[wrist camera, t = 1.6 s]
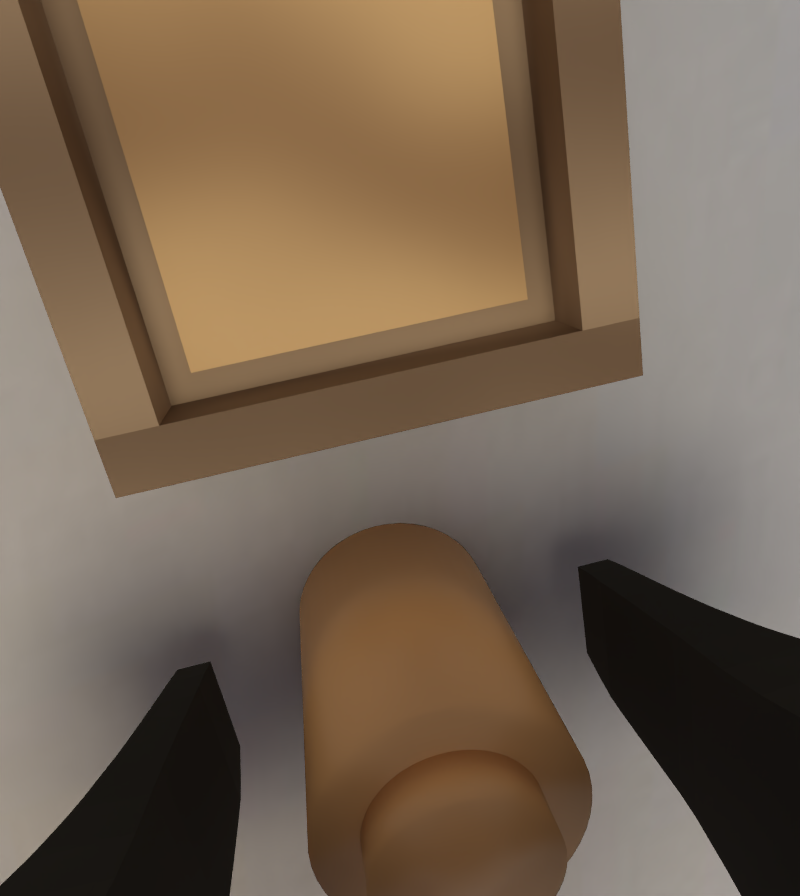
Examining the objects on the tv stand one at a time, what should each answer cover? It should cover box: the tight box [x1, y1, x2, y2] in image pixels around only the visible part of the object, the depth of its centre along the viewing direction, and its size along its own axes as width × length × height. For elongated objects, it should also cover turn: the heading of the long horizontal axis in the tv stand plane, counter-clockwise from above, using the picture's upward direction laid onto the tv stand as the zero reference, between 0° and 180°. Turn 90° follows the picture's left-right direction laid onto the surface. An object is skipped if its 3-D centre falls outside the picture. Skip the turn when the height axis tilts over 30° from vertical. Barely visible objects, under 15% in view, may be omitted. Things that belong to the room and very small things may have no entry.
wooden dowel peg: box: [300, 523, 592, 896], centre depth 11 cm, size 4×4×6 cm
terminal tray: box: [0, 0, 643, 498], centre depth 10 cm, size 9×9×2 cm
